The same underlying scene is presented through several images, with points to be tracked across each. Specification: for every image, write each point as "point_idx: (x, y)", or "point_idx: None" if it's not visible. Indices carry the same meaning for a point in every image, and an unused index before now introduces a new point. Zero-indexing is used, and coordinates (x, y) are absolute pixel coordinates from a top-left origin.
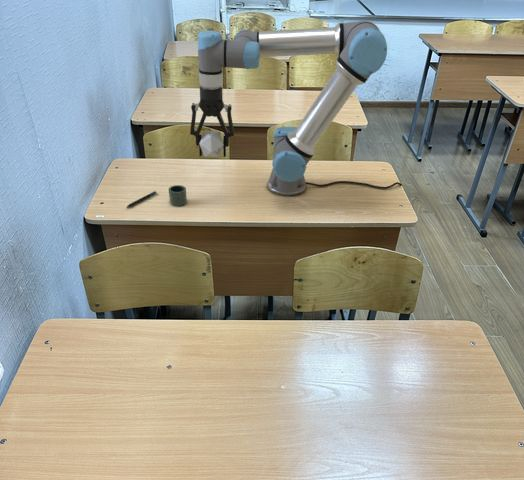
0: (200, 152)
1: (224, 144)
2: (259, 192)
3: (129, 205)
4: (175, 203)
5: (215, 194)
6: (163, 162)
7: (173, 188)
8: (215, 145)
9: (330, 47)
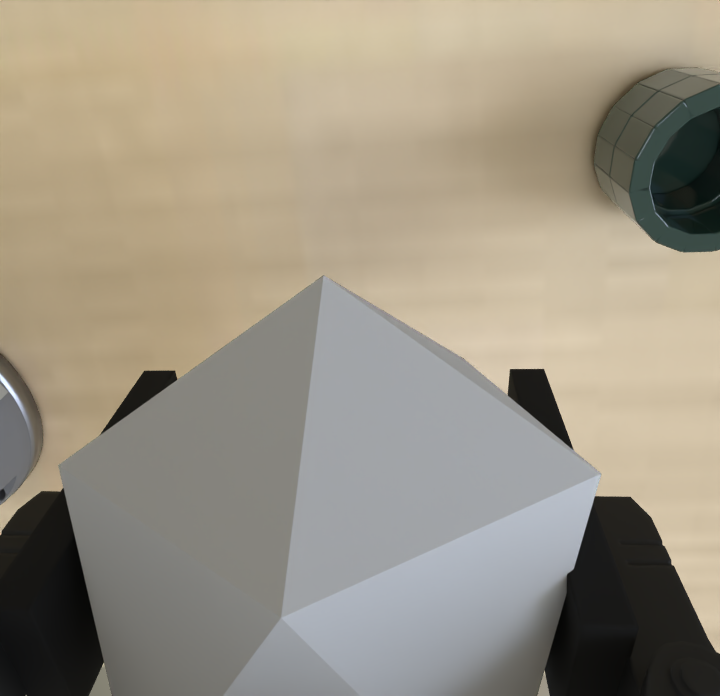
0: (537, 401)
1: None
2: (70, 336)
3: None
4: (707, 70)
5: (371, 294)
6: None
7: None
8: (215, 415)
9: None
